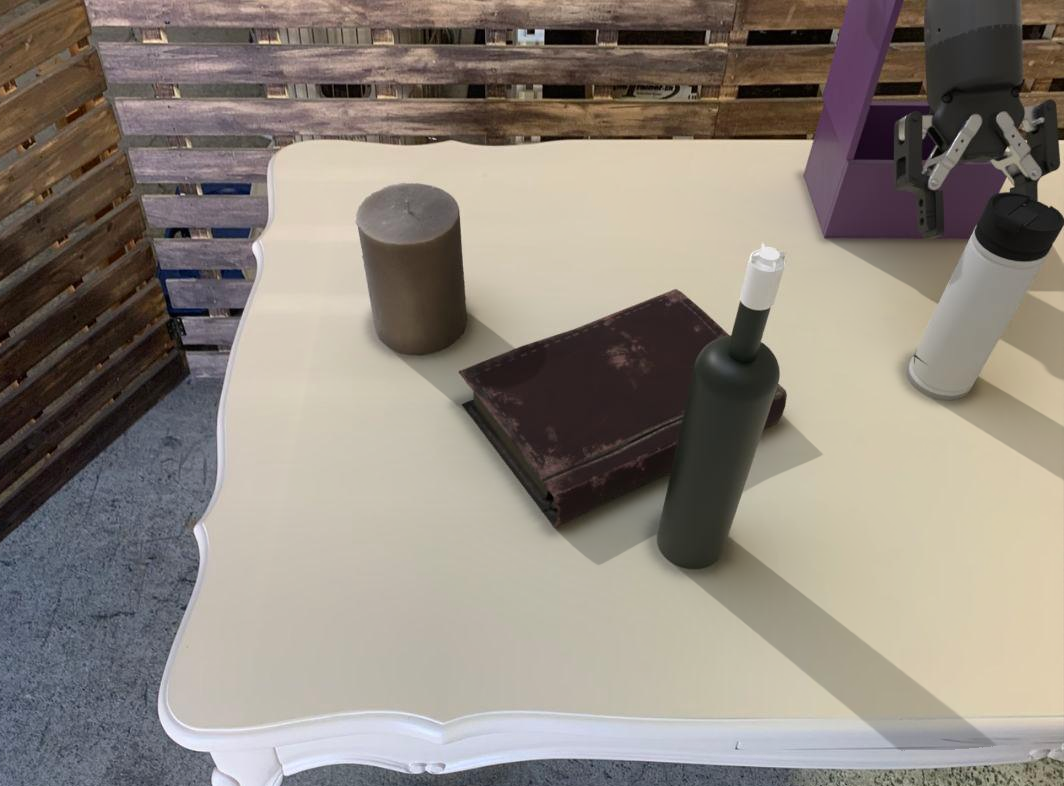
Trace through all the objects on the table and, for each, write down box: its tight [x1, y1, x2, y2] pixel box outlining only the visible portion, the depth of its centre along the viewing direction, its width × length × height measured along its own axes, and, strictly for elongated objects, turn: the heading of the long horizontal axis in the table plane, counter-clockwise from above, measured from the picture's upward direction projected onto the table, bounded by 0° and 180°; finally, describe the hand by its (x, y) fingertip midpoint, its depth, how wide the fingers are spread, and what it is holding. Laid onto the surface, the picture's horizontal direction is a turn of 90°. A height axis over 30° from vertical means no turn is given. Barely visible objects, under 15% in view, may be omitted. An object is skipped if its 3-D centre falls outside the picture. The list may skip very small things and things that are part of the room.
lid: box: [821, 0, 905, 159], centre depth 91 cm, size 18×13×5 cm
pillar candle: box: [355, 182, 468, 356], centre depth 88 cm, size 10×10×15 cm
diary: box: [458, 288, 788, 529], centre depth 85 cm, size 19×25×5 cm
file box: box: [803, 101, 1008, 240], centre depth 103 cm, size 18×13×10 cm
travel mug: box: [906, 191, 1064, 401], centre depth 82 cm, size 6×7×20 cm
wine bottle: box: [656, 242, 787, 570], centre depth 66 cm, size 6×6×30 cm
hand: (978, 232), depth 80 cm, fingers open, 8 cm apart
